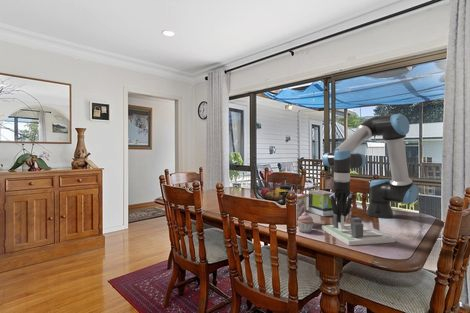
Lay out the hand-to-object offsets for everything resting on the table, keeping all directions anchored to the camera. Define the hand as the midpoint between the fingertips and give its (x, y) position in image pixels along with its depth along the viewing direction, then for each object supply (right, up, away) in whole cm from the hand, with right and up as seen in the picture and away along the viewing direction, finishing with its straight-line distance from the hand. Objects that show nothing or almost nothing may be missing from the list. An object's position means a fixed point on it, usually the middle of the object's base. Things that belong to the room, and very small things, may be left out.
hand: (341, 228), depth 133 cm
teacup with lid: (+10, -3, +22) cm, 25 cm away
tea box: (+5, -3, +46) cm, 46 cm away
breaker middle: (+8, -1, +2) cm, 8 cm away
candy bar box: (-16, -3, +22) cm, 28 cm away
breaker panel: (+8, -4, +2) cm, 9 cm away
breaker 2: (+5, -2, -7) cm, 9 cm away
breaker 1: (+2, -1, +8) cm, 9 cm away
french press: (-17, -2, +56) cm, 59 cm away
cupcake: (-16, -4, +8) cm, 18 cm away
